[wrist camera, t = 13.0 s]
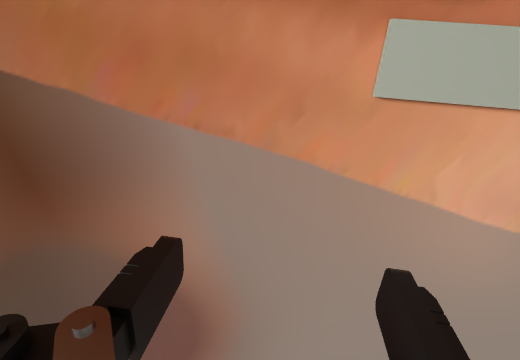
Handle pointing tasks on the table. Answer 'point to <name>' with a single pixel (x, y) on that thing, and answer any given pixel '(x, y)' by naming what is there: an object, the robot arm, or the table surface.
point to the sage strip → (450, 63)
